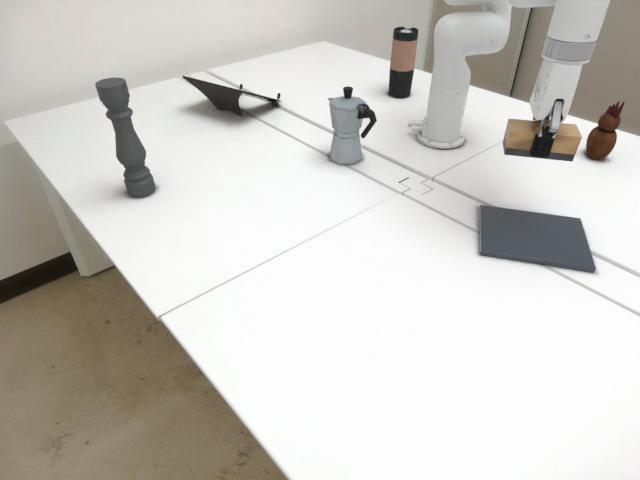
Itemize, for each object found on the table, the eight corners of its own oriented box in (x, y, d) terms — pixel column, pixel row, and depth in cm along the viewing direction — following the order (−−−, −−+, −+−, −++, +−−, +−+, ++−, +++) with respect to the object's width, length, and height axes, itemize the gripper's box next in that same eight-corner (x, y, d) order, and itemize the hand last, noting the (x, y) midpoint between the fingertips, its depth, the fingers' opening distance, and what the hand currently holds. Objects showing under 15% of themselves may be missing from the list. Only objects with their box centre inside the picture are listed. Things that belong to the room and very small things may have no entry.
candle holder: (161, 186, 106) (133, 79, 91) (145, 200, 102) (113, 89, 86) (138, 181, 108) (108, 75, 92) (122, 195, 103) (86, 86, 88)
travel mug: (396, 100, 147) (403, 34, 134) (383, 92, 152) (388, 28, 140) (415, 96, 149) (424, 30, 137) (401, 88, 155) (408, 25, 142)
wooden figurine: (611, 163, 114) (636, 105, 105) (586, 161, 115) (609, 103, 106) (603, 150, 119) (627, 94, 110) (579, 148, 120) (601, 92, 111)
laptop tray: (283, 124, 146) (289, 95, 144) (237, 117, 126) (244, 82, 124) (228, 109, 156) (233, 82, 153) (178, 100, 136) (183, 68, 133)
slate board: (479, 254, 87) (480, 250, 86) (479, 208, 99) (480, 204, 98) (594, 272, 83) (596, 268, 82) (578, 222, 95) (580, 218, 94)
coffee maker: (316, 154, 118) (315, 86, 107) (338, 143, 123) (339, 76, 112) (361, 174, 110) (365, 102, 99) (382, 161, 115) (389, 91, 104)
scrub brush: (504, 155, 86) (511, 130, 83) (502, 142, 90) (508, 118, 87) (572, 162, 84) (582, 137, 81) (567, 148, 88) (576, 124, 85)
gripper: (537, 34, 83) (512, 128, 94) (551, 63, 70) (520, 167, 81) (581, 37, 81) (551, 131, 92) (604, 66, 68) (565, 172, 79)
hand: (537, 147), depth 86 cm, fingers closed on scrub brush, 5 cm apart
